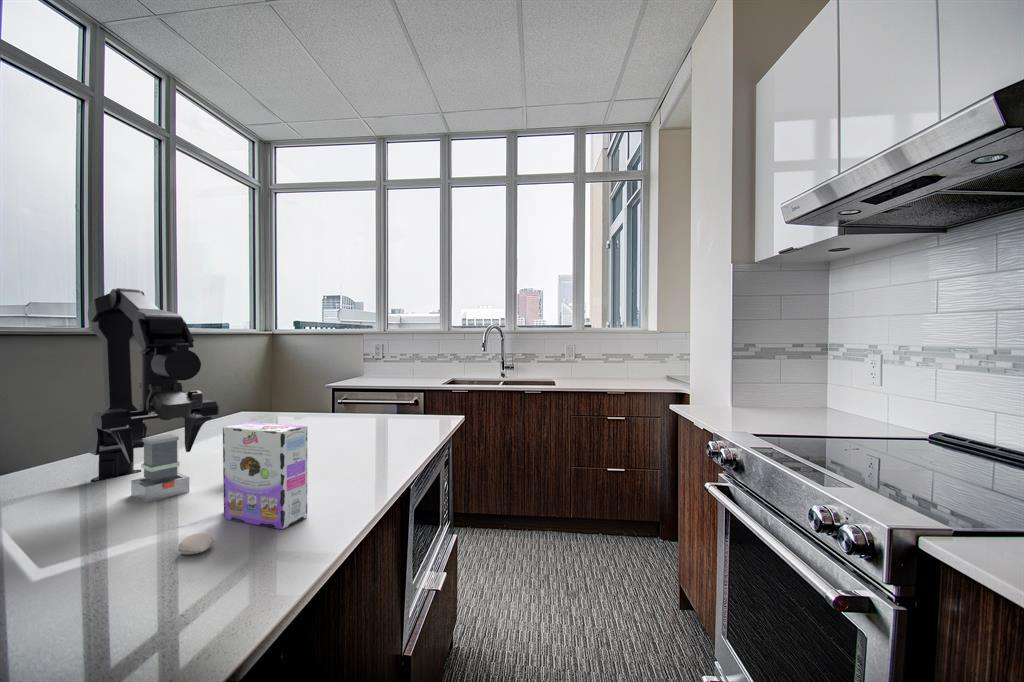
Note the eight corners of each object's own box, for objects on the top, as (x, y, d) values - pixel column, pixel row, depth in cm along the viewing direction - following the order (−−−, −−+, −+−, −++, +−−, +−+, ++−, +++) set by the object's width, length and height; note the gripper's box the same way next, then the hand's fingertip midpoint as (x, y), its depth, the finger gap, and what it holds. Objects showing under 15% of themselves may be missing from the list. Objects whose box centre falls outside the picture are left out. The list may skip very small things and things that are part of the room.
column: (141, 477, 85) (141, 438, 85) (169, 471, 88) (169, 433, 88) (150, 481, 82) (150, 441, 82) (179, 475, 86) (179, 436, 86)
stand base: (109, 502, 83) (109, 481, 83) (183, 484, 94) (183, 466, 94) (133, 516, 77) (133, 494, 77) (209, 495, 87) (209, 475, 87)
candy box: (309, 517, 77) (309, 425, 77) (281, 531, 72) (282, 431, 72) (251, 507, 82) (251, 419, 82) (221, 519, 76) (221, 425, 76)
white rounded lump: (209, 543, 68) (209, 527, 68) (220, 553, 65) (220, 536, 65) (175, 553, 64) (175, 536, 64) (185, 565, 61) (185, 547, 61)
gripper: (112, 384, 73) (112, 477, 73) (232, 376, 89) (232, 452, 89) (91, 380, 79) (91, 466, 79) (206, 373, 95) (206, 445, 95)
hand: (160, 457), depth 85 cm, fingers open, 9 cm apart
